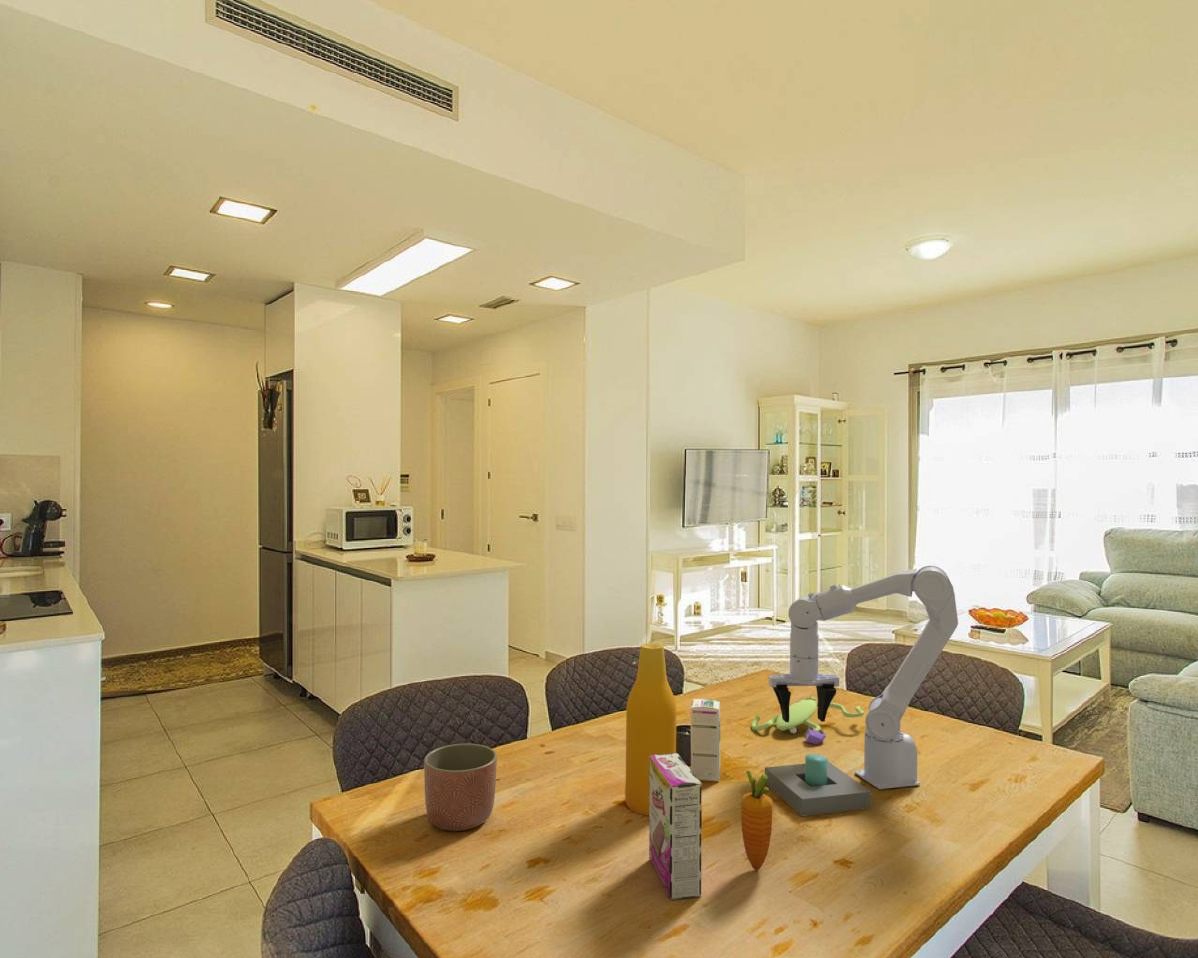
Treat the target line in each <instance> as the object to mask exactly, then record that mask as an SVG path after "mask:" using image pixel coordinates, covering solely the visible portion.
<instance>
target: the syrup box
mask: <svg viewBox="0 0 1198 958" xmlns="http://www.w3.org/2000/svg"><path fill="white" fill-rule="evenodd" d="M690 770H691V771H692V772H693V773H694V775H695V776H696V777H697V778H698V780H699V781H707V782H709V781H710V782H720V778H721V702H720V700H717V699H710V698H693V699H692V703H691V705H690Z"/></svg>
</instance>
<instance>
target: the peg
mask: <svg viewBox="0 0 1198 958" xmlns="http://www.w3.org/2000/svg"><path fill="white" fill-rule="evenodd" d="M804 758H805V759H804V760H805V761H804V762H805V763H804V764H805V783H807V784H808V785H809V786H810V787H814V786H823V785H827V761H828V758H827V757H826V756H825V755H820V754H816V753H811V754H810V753H809V754H806V755H805V757H804Z"/></svg>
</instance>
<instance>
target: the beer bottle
mask: <svg viewBox="0 0 1198 958" xmlns="http://www.w3.org/2000/svg"><path fill="white" fill-rule="evenodd" d="M637 666H638V668H637V674H636V678H635V682H634V684H633V685H632V688H631V690H630V692H629V695H628V696H627V697H628V699H627V702H626V709H625V710H626V712H625V715H626V725H625V726H626V727H625V728H626V730H625V731H626V732H625V738H626V739H625V783H624V784H625V785H624V786H625V787H624V789H625V790H624V798H625V799H624V800H625V805H626V806H627V808H628V809H629V810H630V811H632V812H633V813H636V814H639V815H643V816H649V812H650V809H649V808H650V803H649V756H651V755H656V754H657V755H661V754H674V753H677V703H676V698H675V696H674V693H673V691H672V689H671V686H670V684H669V682H668V677H667V669H666V668H667V667H666V659H665V648H664V645H663V644H660V643H652V642H650V643H649V642H648V643H643V644H641V645H640V649H639V657H638V665H637Z"/></svg>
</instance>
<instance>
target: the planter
mask: <svg viewBox="0 0 1198 958" xmlns="http://www.w3.org/2000/svg"><path fill="white" fill-rule="evenodd" d="M497 758H498V753H497V752H496V751H495V750H494V749H493V748H491V747H490V746H486V745H482V744H478V743H455V744H448V745H445V746H440V747H437V748H435V749H433V750H431V751H430V752H428V753H427V754H426V756H425V757H424V760H423V770H424V772H423V773H424V775H423V776H424V801H425V810H426V814H427V817H428V820H429V821H430V822H431V824H432V825H433V826H435V827H437V828H439V829H441V830H445V831H451V832H457V831H459V832H460V831H466V830H467V831H468V830H471V829H474V828H477V827H478V826H481V825H482V824H484V823H485V822H486V821H487V820H488V819H489V818H490V815H492V812H493V809H494V804H495V797H496V784H497V782H496V781H497V762H498V759H497Z"/></svg>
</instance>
